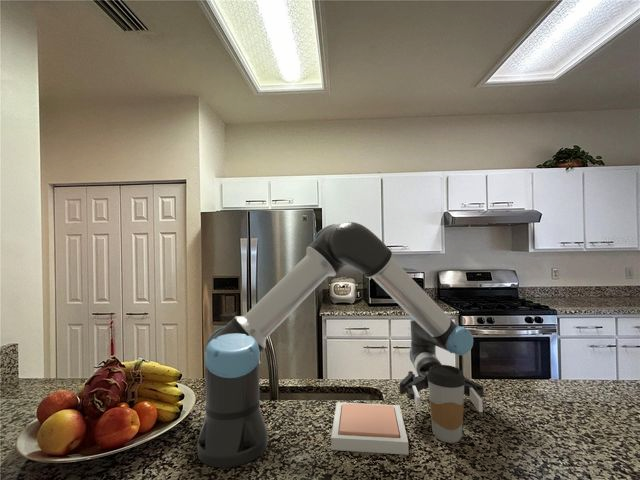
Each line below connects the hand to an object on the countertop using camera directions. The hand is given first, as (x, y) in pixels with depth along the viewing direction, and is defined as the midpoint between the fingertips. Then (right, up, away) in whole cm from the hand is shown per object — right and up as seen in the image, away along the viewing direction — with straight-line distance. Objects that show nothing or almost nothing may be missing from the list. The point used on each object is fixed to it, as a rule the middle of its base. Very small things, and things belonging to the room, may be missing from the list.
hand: (449, 404), depth 75 cm
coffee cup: (0, -8, +2) cm, 8 cm away
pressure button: (-18, -6, +4) cm, 19 cm away
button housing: (-18, -8, +4) cm, 20 cm away
